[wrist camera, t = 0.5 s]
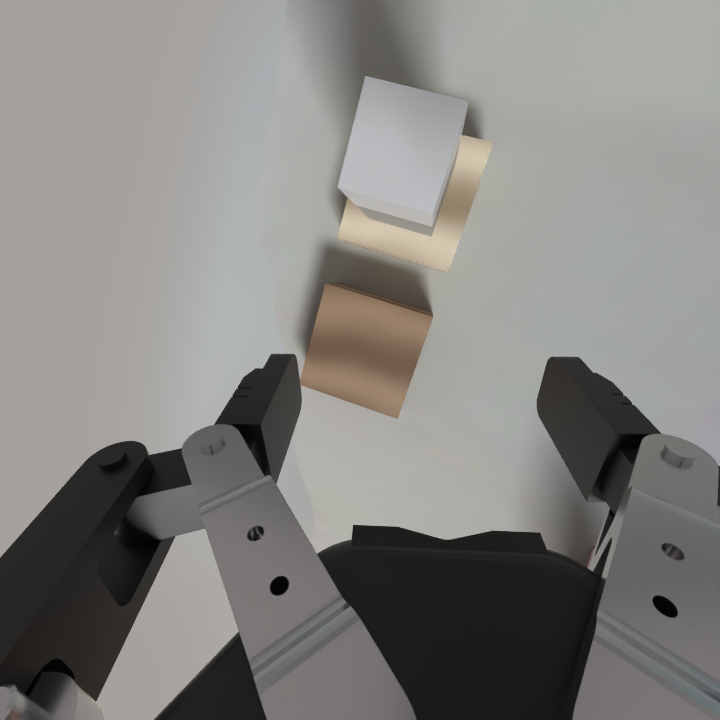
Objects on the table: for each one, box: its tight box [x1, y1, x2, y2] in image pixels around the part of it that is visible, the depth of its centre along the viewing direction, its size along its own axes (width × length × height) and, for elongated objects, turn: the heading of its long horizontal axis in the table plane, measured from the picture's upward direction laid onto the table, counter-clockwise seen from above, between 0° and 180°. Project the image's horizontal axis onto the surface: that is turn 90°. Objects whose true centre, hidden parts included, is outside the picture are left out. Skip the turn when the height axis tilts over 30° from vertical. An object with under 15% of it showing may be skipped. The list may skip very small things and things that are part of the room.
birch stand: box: [337, 135, 493, 272], centre depth 32 cm, size 10×10×4 cm
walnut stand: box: [300, 283, 433, 419], centre depth 35 cm, size 10×10×4 cm
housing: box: [337, 76, 469, 237], centre depth 25 cm, size 6×6×11 cm
